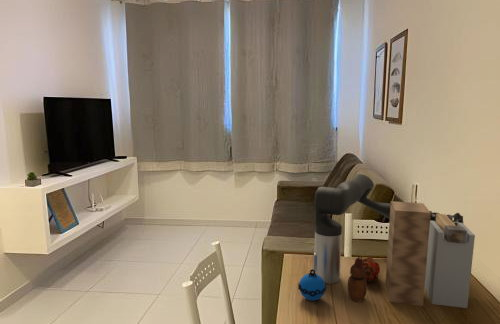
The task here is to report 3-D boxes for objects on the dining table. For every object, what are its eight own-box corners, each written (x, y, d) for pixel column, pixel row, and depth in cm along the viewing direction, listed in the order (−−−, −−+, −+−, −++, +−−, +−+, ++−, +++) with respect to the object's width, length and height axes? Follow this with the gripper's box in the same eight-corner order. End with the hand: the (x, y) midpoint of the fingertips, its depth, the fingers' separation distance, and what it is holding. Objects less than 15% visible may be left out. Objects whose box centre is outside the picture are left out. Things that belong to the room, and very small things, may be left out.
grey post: (432, 303, 116) (438, 232, 113) (424, 285, 128) (429, 220, 124) (467, 308, 114) (474, 235, 110) (456, 289, 126) (462, 222, 122)
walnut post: (388, 301, 118) (395, 210, 113) (385, 285, 128) (390, 201, 123) (422, 305, 115) (430, 212, 111) (416, 288, 126) (423, 203, 121)
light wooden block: (447, 242, 112) (448, 229, 111) (432, 221, 131) (433, 210, 130) (465, 243, 111) (467, 230, 110) (447, 222, 130) (448, 211, 129)
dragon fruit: (366, 292, 127) (363, 280, 138) (387, 279, 125) (383, 269, 137) (351, 270, 128) (350, 261, 139) (373, 258, 126) (369, 249, 138)
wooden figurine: (366, 304, 116) (369, 259, 113) (347, 302, 117) (349, 257, 115) (364, 294, 122) (367, 251, 120) (346, 292, 123) (348, 249, 121)
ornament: (323, 292, 123) (324, 264, 121) (326, 306, 115) (327, 276, 113) (297, 291, 124) (298, 263, 122) (298, 305, 115) (299, 275, 114)
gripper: (412, 213, 143) (421, 202, 128) (453, 216, 139) (467, 205, 125) (412, 233, 140) (422, 224, 125) (454, 236, 137) (468, 227, 122)
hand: (444, 214), depth 125 cm, fingers open, 8 cm apart
